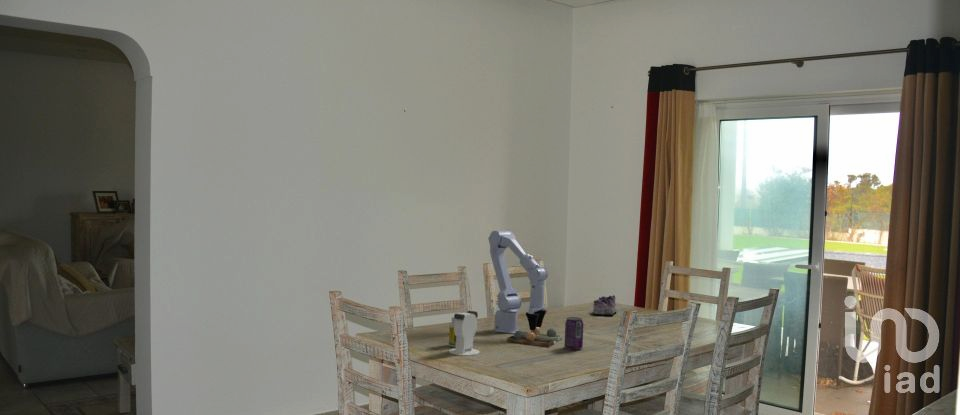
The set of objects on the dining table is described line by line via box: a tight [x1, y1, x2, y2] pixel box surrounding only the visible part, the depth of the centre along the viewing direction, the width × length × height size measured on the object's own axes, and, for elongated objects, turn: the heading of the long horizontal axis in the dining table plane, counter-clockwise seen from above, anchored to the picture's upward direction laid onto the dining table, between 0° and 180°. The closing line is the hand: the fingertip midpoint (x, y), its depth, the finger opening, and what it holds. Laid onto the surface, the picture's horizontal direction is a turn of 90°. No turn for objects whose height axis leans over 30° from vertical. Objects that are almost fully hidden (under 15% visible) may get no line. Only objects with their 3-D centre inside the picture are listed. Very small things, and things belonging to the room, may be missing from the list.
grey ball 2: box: [546, 327, 557, 337], centre depth 316 cm, size 4×4×4 cm
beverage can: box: [564, 316, 584, 351], centre depth 300 cm, size 7×7×12 cm
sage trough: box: [521, 330, 564, 344], centre depth 316 cm, size 18×11×2 cm, turn 67°
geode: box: [592, 294, 618, 316], centre depth 386 cm, size 20×12×10 cm, turn 160°
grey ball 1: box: [513, 330, 524, 340], centre depth 309 cm, size 4×4×4 cm
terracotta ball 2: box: [530, 327, 541, 335], centre depth 319 cm, size 4×4×4 cm
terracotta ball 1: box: [526, 331, 536, 341], centre depth 307 cm, size 4×4×4 cm
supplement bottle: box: [448, 315, 456, 348], centre depth 297 cm, size 6×6×11 cm
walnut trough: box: [506, 335, 555, 348], centre depth 307 cm, size 18×6×2 cm, turn 67°
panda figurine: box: [449, 310, 480, 357], centre depth 287 cm, size 12×11×15 cm
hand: (535, 328), depth 319 cm, fingers open, 7 cm apart
